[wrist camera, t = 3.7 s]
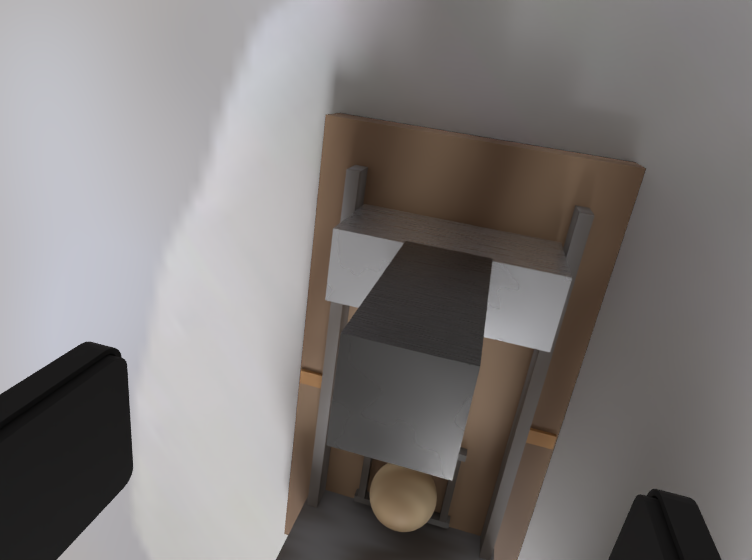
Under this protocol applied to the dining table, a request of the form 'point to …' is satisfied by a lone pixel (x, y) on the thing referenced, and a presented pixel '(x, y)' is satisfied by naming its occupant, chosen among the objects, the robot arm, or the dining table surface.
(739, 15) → the dining table surface
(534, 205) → the cracker base
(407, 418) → the jaw
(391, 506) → the beige round ball
